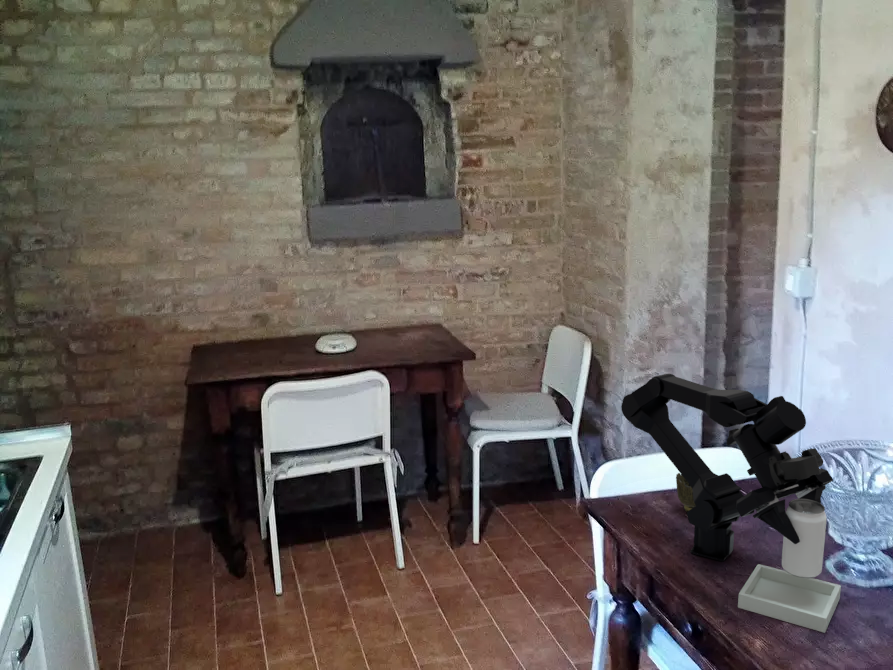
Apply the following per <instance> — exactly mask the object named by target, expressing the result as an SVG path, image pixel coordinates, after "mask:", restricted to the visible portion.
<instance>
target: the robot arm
mask: <svg viewBox="0 0 893 670" xmlns="http://www.w3.org/2000/svg"><path fill="white" fill-rule="evenodd" d="M671 400H672V401H674V402H677V403H680V404H683V405H686V406H689V407H691V408H694V409H697V410H700V411H702V412H703V413H705V414H706V415H707V417H708V418H709V419H710V420H711V421H713V422H714V423H717V424H718V425H720V426H722V427H724V428H730V427H734V426H738V425H739V426H740V425H743V426H741V427H740V428H737V427H736V428H733V429H730V430H729V431H728V437H727V439H726V445H727V446H729V447H730V446H732V445H733V446H734V445H735V444H736V445H737V446H738V448H739V449H740V452H741V453H742V455H743V457H744V458H745V460H746V462H747V463H748V465H749V467H750V468H748V469H747V470H746V472H747V473H748V475H749V476H753V475H754V476H755V477H756V479H757V481H758V483H759V485H760V486H761V487H760V488H757V489H753V490H751V491H749V492H748V493H746V494H745V495H744V494H743V493H742V487H740V485H739V486H738V485H737V483H735V481H734V479H733V477H732V476H731V475H729V474H728V473H723V474H720V475H718V474H716V473H714V472H713V471H712V470H711V469H710V467H709V466H708V465H707V464H706V462H705V461H704V460H703V459H702V458H701V457H700V455H699V454H698V453H697V452H696V450H695V449H694V447H692V445H691V444H690V443H689V442H688V440H687V439H686V438H685V437H684V436H683V435H682V433H681V432H680V431H679V430H678V429H677V427H676V426H675V425H674V423H673V422H672V421H671V420H670V415H669V413H670V412H669V406H668V405H667V404H668V403H669V402H670V401H671ZM621 412H622V414H623V417H625V419H626V420H627V421H628V422H629V423H630V424H631V425H632V426H633V427H634V428H637V429H638V430H641V431H642V432H644V433H647V434H648V435H650V436H651V437H652V439H653V441H655V443H656V444H657V445H658V446H659V448H660V449H661V450H662V452H663V453H664V454H665V456H666V457H667V458H668V460H670V461H671V463H672V465H674V466H675V468H676V469H677V471H678V473H680V474H682V476H683V477H684V478H685V479H686V481H687V482H688V483H689V485H690V486H691V487H692V491H693V500H694V503H695V505H696V506H695V507H694V508H692V509H691V510H689V511H688V512H686V516H687V521H688V524H691V525H693V526H694V530H693V531H694V533H693V545H692V546H693V547H691V549H690V551H689V552H690V554H692V555H696V556H699V557H700V556H701V557H704V558H706V559H707V558H708V559H711V560H715V561H718V562H724V561H725V560H726V559H727V558H728V557H729V556H730V555H731V554H732V552H733V551H734V540H735V531H734V530H732V527H733V525H732V524H733V523H734V522H738V521H739V519H740V517H741V518H744V517H747V516H750V515H752V514H753V515H752V517H753V518H754V519H759V520H760V521H762V522H763V523H765V524H766V525H768V526H770V527H771V528H773V529H774V530H776V531H777V532H778V533H779V534H781V536H782V537H784V536H785V537H786V538H787V539H789V540H790V541H791V542H793V543H794V544H797V543H799V542H800V540H799V537H798V535H797V533H796V531H795V529H794V527H793V525H792V523H791V521H790V519H789V518H788V516H787V514H786V499H784V498H785V497H786V498H787V497H789V496H791V495H792V496H793V495H795V497H797V498H796V499H809V500H813V501H816V502H819V503H821V504H822V499H821V498H822V495H823V491H825V490H826V489H827V487H826V485H828V484H830V483H832V482H834V479H833V477H832V475H831V473H830V472H829V471H828V470H827V469H825V468H822V467H823V464H824V459H823V458H822V455H821V454H820V453H819V451H818V450H817V449H816V448H809V449H805V450H802V451H801V455H800V456H798V457H791V456H790V454H789V453H788V452H787V451H782V452H781V451H780V449H779V448H778V446H777V445H781V444H783V443H784V442H786V441H787V440H788V439H790V438H792V437H793V436H795V435H796V434H797V433H799V432H800V431H802V430H804V429H805V427H806V424H807V419H806V416H805V414H804V412H803V410H802V409H801V408H799V407H798V406H797V405H795V404H794V403H792V402H790V401H787V400H786V399H785V397H784V396H783V395H780V396H776V397H773V398H772V399H770V401H769V402H768V403H766V402H763V401H761V400H759V399H757V398H756V397H755V395H754V394H753V393H752V392H750V391H748V390H743V389H742V390H741V389H715V388H712V387H710V386H707V385H704V384H703V385H702V384H699V383H696V382H694V381H690V380H687V379H684V378H681V377H677V376H676V375H675V374H673V373H665V374H658V375H655V376H653V377H651V378H650V379H649V380H648V381H647V382H646V383H645V384H643V385H641V386H640V387H639V388H637V389H636V390H633V391H632V392H631V393H628V394H626V395H624V397H623V400H622V403H621ZM752 422H753V423H752ZM746 423H747V424H746ZM744 424H745V425H744ZM820 467H821V468H820ZM780 499H782V500H780ZM755 512H756V513H755ZM826 532H827V529H826V531H825V533H826Z"/></svg>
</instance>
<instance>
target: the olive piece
mask: <svg viewBox="0 0 893 670" xmlns="http://www.w3.org/2000/svg"><path fill="white" fill-rule="evenodd" d="M675 482H676V490H677V491H676V492H677V493H676V494H677V497H678V499H679V502H680V503H681V504H682V505H683V509H684V511H685V512H686V513H687V512H688V511H689V510H691V509H692V508H694V507H695V506H696V505H695V503H694V500H693V491H692V487H691V486H690V485H689V483H688V482H687V481H686V479H685V478H684V477H683V476H682V474H681V473H680V472H677V473H676V476H675Z"/></svg>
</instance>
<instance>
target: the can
mask: <svg viewBox="0 0 893 670" xmlns="http://www.w3.org/2000/svg"><path fill="white" fill-rule="evenodd" d="M825 510H826V509H825V506H824V504H822V502H821V503H819V502H816V501H813V500H809V499H798V498H795V499H792V500H790V501H789V502H788V507H787V508H786V509H785V512H786V514H787V516H788V518H789V519H790V521H791V523H792V525H793V527H794V529H795V531H796V533H797V535H798V537H799V540H800V542H799V543H797V544H794V543H793V542H791V541H790V540H789V539H787V538H786V537H785V536H782V537H783V540H782V552H781V553H782V554H781V568H783V570H784V571H786V572H787V573H789V574H791V575H793V576H796V577H800V578H814V579H815V578H816V577H818V576H819V575H821V574H822V571H823V562H824V550H825V541H826V532H827V531H826V530H827V514H826V512H825ZM825 531H826V532H825Z"/></svg>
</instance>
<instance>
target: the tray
mask: <svg viewBox="0 0 893 670" xmlns="http://www.w3.org/2000/svg"><path fill="white" fill-rule="evenodd" d="M841 589H842V585H840V584H837V583H833V582H828V581H825V580H821V579H817V578H815V577H814V578H800V577H796V576H793V575H791V574H789V573H787V572H786V571H785V570H784V569H780V568H777V567H776V568H775V567H773V566H767V565H765V564H759V563H757V565H756V567H755V568H754V570H753V571H752V572H751V574H750V576H749V577H748V579H747V580H746V582H745V584H744V585H743V586H742V588H741V589H740V591H739V593H738V597H737V599H738V600H737V602H738V603H737V608H738V609H741V610H745V611H748V612H752V613H756V614H759V615H762V616H766V617H769V618H772V619H777V620H780V621H783V622H787V623H790V624H793V625H796V626H800V627H802V628H803V627H804V628H807V629H811V630H814V631H818V632H820V633H824V634H825V633H826V631H827V630H828V626H829V624H830V622H831V620H832V617H833V616H834V613H835V610H836V608H837V606H838V603H839V601H840V599H841Z"/></svg>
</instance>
